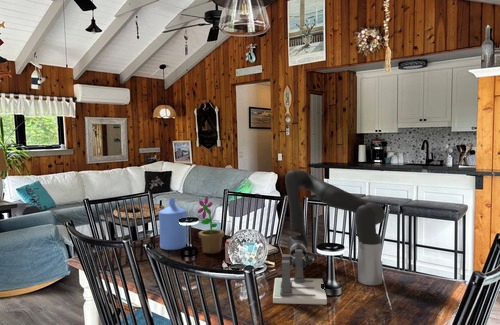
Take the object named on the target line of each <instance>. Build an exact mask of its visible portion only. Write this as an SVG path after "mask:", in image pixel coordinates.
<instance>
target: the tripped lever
mask: <svg viewBox="0 0 500 325" xmlns="http://www.w3.org/2000/svg"><path fill="white" fill-rule="evenodd" d="M295 264H296V268H294V269H295V272H294V273H295V275H293V278H294V281H298V282H305V275H304V274H303V273H304V268H303V251H302V249H295Z"/></svg>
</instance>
